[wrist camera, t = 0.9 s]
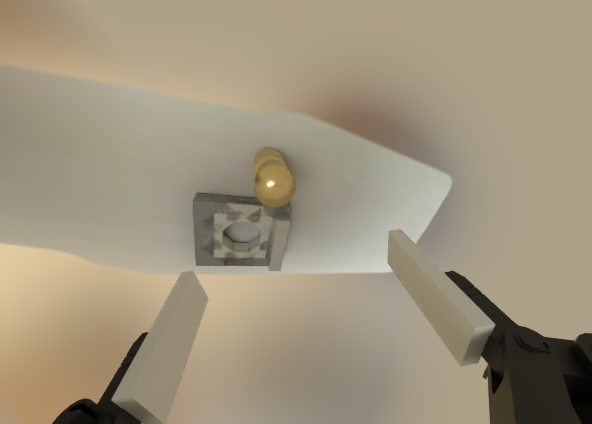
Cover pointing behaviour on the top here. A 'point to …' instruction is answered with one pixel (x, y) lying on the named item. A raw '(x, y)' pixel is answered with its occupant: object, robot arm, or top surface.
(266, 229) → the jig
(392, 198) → the top surface
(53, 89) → the top surface
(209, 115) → the top surface
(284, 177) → the brass rounded cylinder
